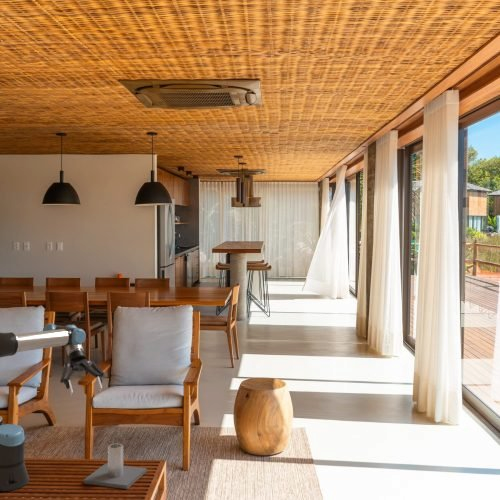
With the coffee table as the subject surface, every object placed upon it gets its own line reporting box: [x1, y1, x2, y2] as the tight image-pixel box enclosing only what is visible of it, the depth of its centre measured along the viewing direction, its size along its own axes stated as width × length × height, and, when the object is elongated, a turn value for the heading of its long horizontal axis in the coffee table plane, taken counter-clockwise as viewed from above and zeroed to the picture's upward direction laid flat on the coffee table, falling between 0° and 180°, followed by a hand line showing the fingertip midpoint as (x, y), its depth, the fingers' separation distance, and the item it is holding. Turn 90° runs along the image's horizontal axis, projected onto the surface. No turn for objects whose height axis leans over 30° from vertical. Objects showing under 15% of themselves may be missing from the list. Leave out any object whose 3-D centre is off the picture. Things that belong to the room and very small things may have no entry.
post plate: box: [83, 463, 148, 490], centre depth 242 cm, size 20×18×10 cm
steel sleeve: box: [107, 443, 124, 477], centre depth 242 cm, size 6×6×12 cm
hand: (86, 391), depth 260 cm, fingers open, 13 cm apart
